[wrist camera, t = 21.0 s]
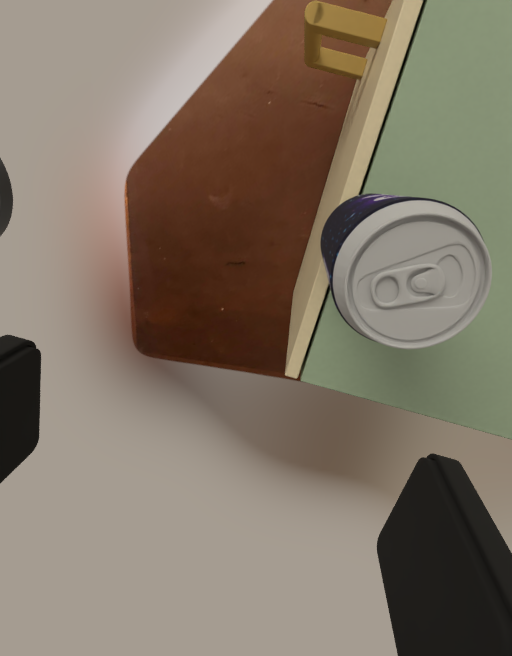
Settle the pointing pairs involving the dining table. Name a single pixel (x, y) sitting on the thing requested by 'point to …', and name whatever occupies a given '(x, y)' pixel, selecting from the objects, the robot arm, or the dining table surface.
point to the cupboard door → (346, 132)
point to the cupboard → (452, 188)
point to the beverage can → (405, 268)
